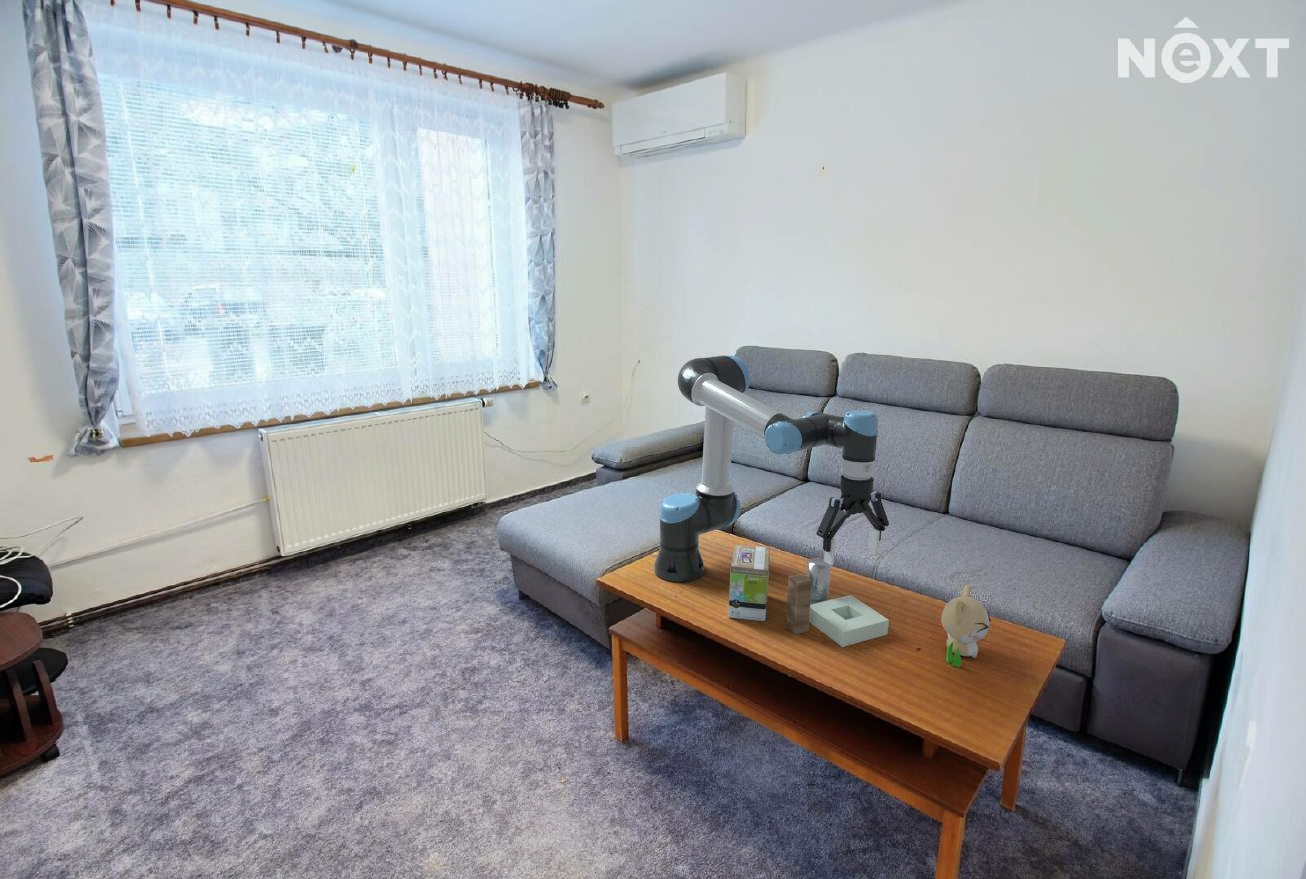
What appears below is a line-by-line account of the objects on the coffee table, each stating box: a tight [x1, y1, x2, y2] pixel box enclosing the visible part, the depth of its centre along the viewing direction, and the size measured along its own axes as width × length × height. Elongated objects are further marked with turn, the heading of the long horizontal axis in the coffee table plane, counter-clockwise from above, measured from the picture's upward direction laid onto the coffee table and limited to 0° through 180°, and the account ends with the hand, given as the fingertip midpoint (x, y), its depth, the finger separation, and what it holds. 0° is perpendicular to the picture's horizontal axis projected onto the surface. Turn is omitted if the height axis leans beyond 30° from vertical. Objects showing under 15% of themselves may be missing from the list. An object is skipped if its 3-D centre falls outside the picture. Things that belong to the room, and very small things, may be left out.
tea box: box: [728, 544, 771, 622], centre depth 165 cm, size 15×10×15 cm
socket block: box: [809, 594, 890, 648], centre depth 156 cm, size 14×14×4 cm
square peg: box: [785, 573, 812, 636], centre depth 154 cm, size 4×4×14 cm
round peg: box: [807, 557, 832, 605], centre depth 167 cm, size 6×6×12 cm
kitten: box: [940, 584, 992, 668], centre depth 143 cm, size 15×10×15 cm
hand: (851, 558), depth 152 cm, fingers open, 13 cm apart
